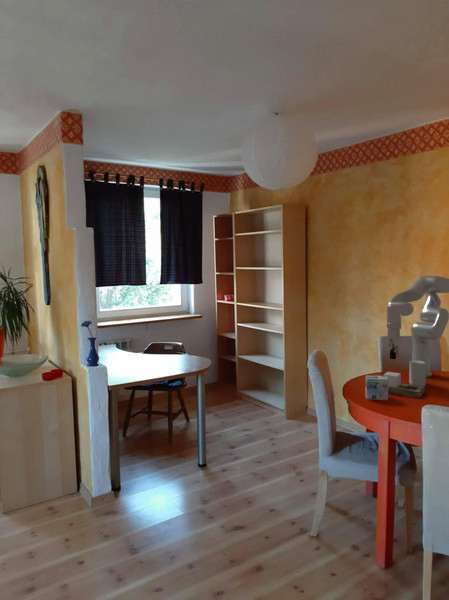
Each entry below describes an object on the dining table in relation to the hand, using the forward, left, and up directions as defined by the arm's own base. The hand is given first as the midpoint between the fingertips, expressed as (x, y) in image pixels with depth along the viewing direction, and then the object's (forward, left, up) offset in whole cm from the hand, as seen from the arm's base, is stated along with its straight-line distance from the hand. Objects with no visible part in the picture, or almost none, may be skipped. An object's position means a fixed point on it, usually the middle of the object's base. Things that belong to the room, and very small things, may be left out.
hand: (394, 357), depth 258 cm
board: (+16, +8, -14) cm, 23 cm away
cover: (+16, +3, -11) cm, 20 cm away
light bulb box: (+32, 0, -15) cm, 35 cm away
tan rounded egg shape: (0, 0, -1) cm, 1 cm away
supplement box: (-3, +12, -15) cm, 19 cm away
